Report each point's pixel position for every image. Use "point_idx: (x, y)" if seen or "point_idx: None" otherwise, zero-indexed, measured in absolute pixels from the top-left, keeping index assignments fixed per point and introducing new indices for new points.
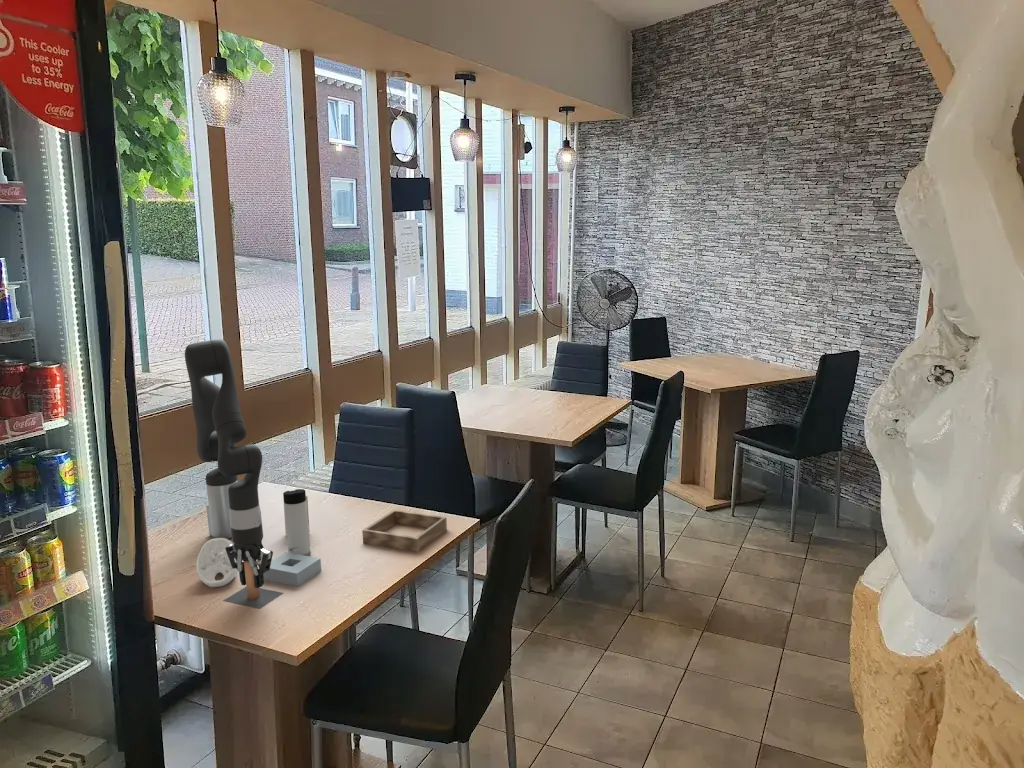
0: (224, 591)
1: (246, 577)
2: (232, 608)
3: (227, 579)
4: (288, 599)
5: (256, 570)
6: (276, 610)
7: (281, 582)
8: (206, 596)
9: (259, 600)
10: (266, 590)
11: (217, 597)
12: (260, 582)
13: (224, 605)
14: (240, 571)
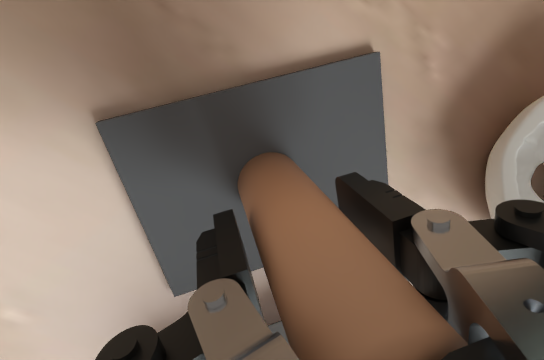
0: (451, 130)
1: (318, 213)
2: (265, 33)
3: (495, 174)
4: (101, 283)
5: (207, 330)
6: (14, 182)
7: (278, 329)
8: (497, 41)
9: (202, 180)
10: None
11: (439, 69)
12: (196, 255)
13: (337, 30)
14: (413, 219)
